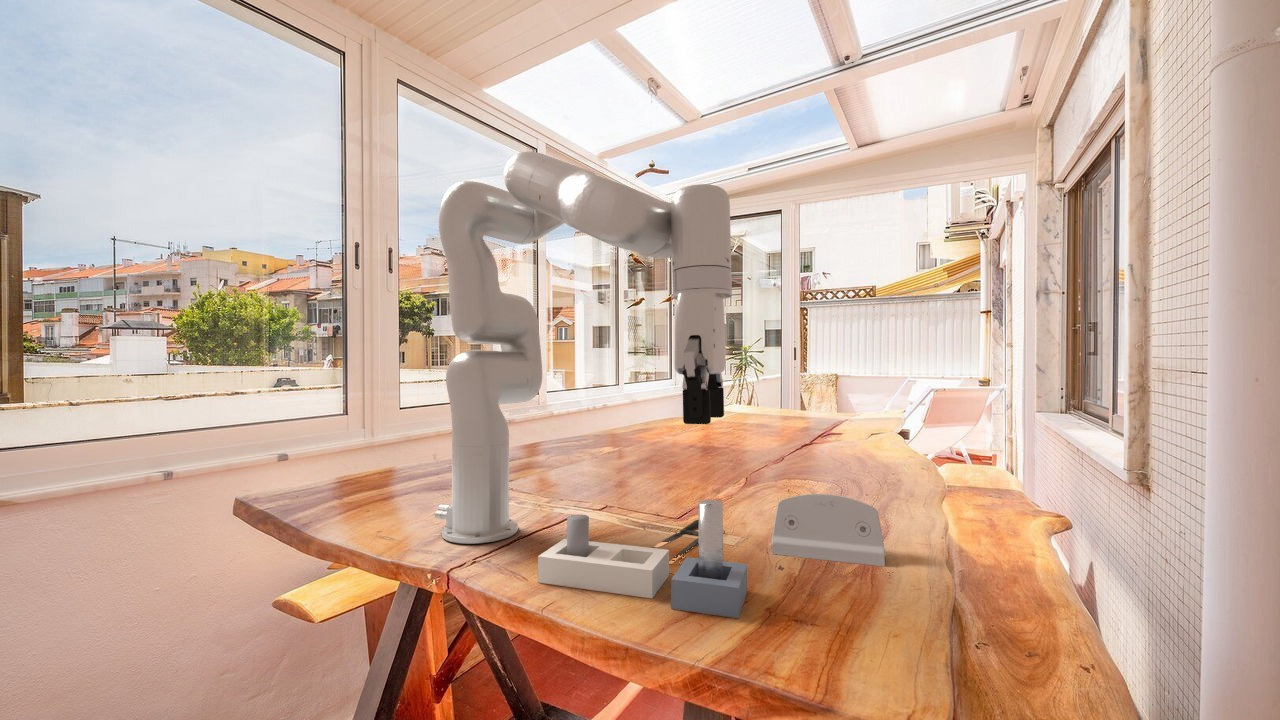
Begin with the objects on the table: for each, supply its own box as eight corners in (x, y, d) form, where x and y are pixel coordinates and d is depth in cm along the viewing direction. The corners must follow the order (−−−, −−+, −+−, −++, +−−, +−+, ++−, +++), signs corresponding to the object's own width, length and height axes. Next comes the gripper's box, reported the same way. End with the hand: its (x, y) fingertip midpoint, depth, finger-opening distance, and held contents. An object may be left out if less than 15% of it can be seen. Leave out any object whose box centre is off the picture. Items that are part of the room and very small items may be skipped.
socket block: (671, 608, 65) (671, 579, 65) (686, 583, 73) (686, 557, 73) (738, 618, 63) (738, 587, 63) (747, 591, 70) (747, 563, 70)
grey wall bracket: (769, 553, 84) (771, 488, 88) (772, 554, 88) (773, 492, 92) (887, 566, 79) (885, 496, 82) (884, 567, 83) (882, 500, 86)
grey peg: (696, 603, 67) (696, 504, 67) (701, 593, 70) (701, 499, 70) (720, 606, 66) (720, 506, 66) (724, 596, 69) (724, 501, 69)
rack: (538, 582, 73) (538, 522, 73) (564, 562, 81) (564, 507, 81) (652, 598, 68) (652, 534, 68) (669, 575, 76) (669, 517, 76)
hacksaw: (696, 525, 101) (696, 517, 101) (749, 534, 95) (749, 526, 95) (621, 565, 81) (621, 555, 81) (682, 580, 75) (682, 569, 75)
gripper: (688, 296, 79) (690, 415, 78) (654, 277, 62) (657, 426, 62) (740, 293, 77) (743, 415, 76) (719, 272, 60) (723, 427, 60)
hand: (705, 420), depth 69 cm, fingers open, 9 cm apart
